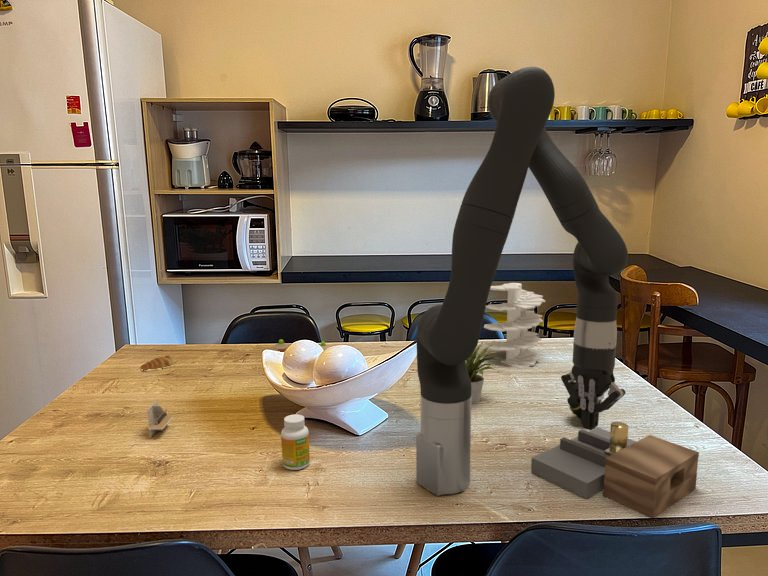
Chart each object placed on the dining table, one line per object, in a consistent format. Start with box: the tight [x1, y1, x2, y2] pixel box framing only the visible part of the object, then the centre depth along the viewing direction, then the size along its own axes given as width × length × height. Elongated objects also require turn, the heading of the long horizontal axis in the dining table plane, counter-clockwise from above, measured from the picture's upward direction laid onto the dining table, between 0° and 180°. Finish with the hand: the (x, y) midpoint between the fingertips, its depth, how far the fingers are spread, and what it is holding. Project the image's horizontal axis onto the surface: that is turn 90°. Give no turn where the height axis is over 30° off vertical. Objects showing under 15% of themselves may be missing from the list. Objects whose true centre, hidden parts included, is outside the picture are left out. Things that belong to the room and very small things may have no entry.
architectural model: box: [147, 400, 174, 438], centre depth 125 cm, size 3×7×7 cm, turn 2°
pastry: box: [140, 354, 175, 370], centre depth 169 cm, size 9×7×4 cm
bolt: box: [604, 421, 674, 479], centre depth 101 cm, size 4×11×7 cm, turn 37°
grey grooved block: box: [530, 426, 637, 500], centre depth 109 cm, size 22×12×5 cm, turn 127°
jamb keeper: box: [602, 434, 700, 519], centre depth 99 cm, size 15×9×7 cm, turn 127°
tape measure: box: [567, 394, 582, 421], centre depth 129 cm, size 7×7×4 cm
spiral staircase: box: [481, 282, 546, 370], centre depth 172 cm, size 18×18×25 cm
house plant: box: [465, 340, 498, 405], centre depth 141 cm, size 14×14×16 cm
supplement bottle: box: [280, 413, 311, 471], centre depth 111 cm, size 5×5×10 cm
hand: (589, 428), depth 108 cm, fingers closed
